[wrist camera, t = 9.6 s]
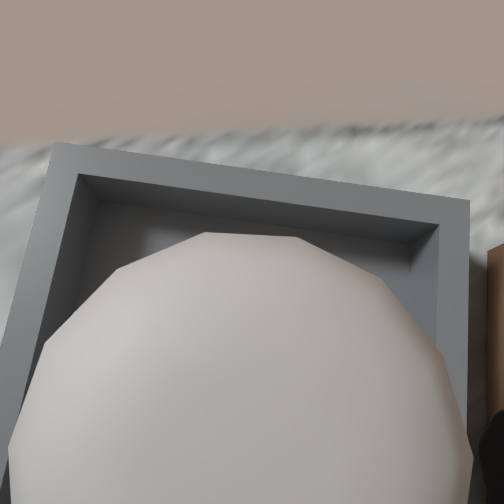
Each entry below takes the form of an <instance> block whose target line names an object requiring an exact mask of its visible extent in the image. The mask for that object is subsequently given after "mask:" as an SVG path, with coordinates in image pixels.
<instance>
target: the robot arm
mask: <svg viewBox="0 0 504 504" xmlns="http://www.w3.org/2000/svg"><path fill="white" fill-rule="evenodd" d="M479 455H480V460H481V465H482V470H483V474H484V479H485V484H486V489H487V494H488V499H489V503H490V504H504V410H499V411H497V412H496V413H495V414H494V416H493V418H492V419H491V421H490V423H489V425H488V426H487V428H486V430H485V432H484V434H483V435H482V437H481V439H480V443H479Z"/></svg>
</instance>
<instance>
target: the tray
mask: <svg viewBox="0 0 504 504" xmlns="http://www.w3.org/2000/svg"><path fill="white" fill-rule="evenodd" d="M469 231H470V200H464V199H457V198H450V197H443V196H436V195H429V194H422V193H415V192H407V191H400V190H393V189H386V188H379V187H372V186H365V185H358V184H351V183H344V182H337V181H330V180H323V179H316V178H309V177H302V176H295V175H288V174H281V173H274V172H267V171H260V170H253V169H245V168H238V167H231V166H224V165H217V164H210V163H203V162H196V161H189V160H182V159H175V158H168V157H161V156H154V155H147V154H140V153H133V152H126V151H119V150H112V149H105V148H98V147H90V146H83V145H76V144H69V143H62V142H55V143H54V147H53V151H52V155H51V159H50V162H49V166H48V170H47V174H46V177H45V181H44V185H43V189H42V193H41V196H40V200H39V204H38V208H37V211H36V215H35V219H34V223H33V226H32V230H31V234H30V238H29V242H28V245H27V249H26V253H25V257H24V260H23V264H22V268H21V272H20V275H19V279H18V283H17V287H16V291H15V294H14V298H13V302H12V306H11V309H10V313H9V317H8V321H7V325H6V328H5V332H4V336H3V340H2V343H1V347H0V504H11V491H10V474H9V456H8V446H9V443H10V440H11V437H12V434H13V431H14V429H15V426H16V423H17V420H18V417H19V415H20V412H21V409H22V406H23V403H24V400H25V398H26V395H27V392H28V389H29V386H30V383H31V381H32V378H33V375H34V372H35V369H36V366H37V364H38V361H39V358H40V355H41V352H42V350H43V347H44V344H45V342H46V341H47V340H48V339H49V338H50V337H51V336H52V335H53V334H54V333H55V332H56V331H57V330H58V329H59V328H60V327H61V326H62V325H63V324H64V323H65V322H66V321H67V320H68V319H69V318H70V317H71V316H72V315H73V313H74V312H75V311H76V310H77V309H78V308H79V307H80V306H81V305H82V304H83V303H84V302H85V301H86V300H87V299H88V298H89V297H90V296H91V295H92V294H93V293H94V292H95V291H96V290H97V289H98V288H99V287H100V286H101V285H102V284H103V283H104V282H105V281H106V280H107V279H108V278H109V277H110V276H111V275H112V274H113V273H114V272H115V270H116V269H119V268H121V267H123V266H126V265H128V264H131V263H133V262H135V261H138V260H140V259H142V258H145V257H147V256H150V255H152V254H154V253H157V252H159V251H161V250H164V249H166V248H168V247H171V246H173V245H176V244H178V243H180V242H183V241H185V240H187V239H190V238H192V237H194V236H197V235H199V234H202V233H204V232H210V233H230V234H249V235H268V236H288V237H298V238H300V239H302V240H304V241H306V242H308V243H310V244H312V245H314V246H316V247H318V248H320V249H322V250H324V251H326V252H329V253H331V254H333V255H335V256H337V257H339V258H341V259H343V260H345V261H347V262H349V263H351V264H353V265H355V266H357V267H359V268H361V269H363V270H365V271H367V272H369V273H371V274H373V275H375V276H377V277H379V278H381V279H382V280H383V281H384V283H385V284H386V285H387V286H388V288H389V289H390V290H391V291H392V293H393V294H394V295H395V296H396V298H397V299H398V300H399V301H400V303H401V304H402V305H403V306H404V308H405V309H406V310H407V311H408V313H409V314H410V315H411V316H412V318H413V319H414V320H415V321H416V323H417V324H418V325H419V326H420V328H421V329H422V330H423V331H424V333H425V334H426V335H427V336H428V338H429V339H430V340H431V341H432V343H433V344H434V345H435V346H436V348H437V349H438V350H439V351H440V353H441V354H442V355H443V357H444V361H445V364H446V367H447V371H448V374H449V377H450V381H451V384H452V387H453V391H454V394H455V397H456V401H457V404H458V407H459V411H460V414H461V417H462V421H463V424H464V427H465V431H466V434H467V370H468V301H469Z"/></svg>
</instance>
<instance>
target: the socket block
mask: <svg viewBox="0 0 504 504" xmlns="http://www.w3.org/2000/svg"><path fill="white" fill-rule="evenodd" d="M499 410H504V244H502V245H500V246H497V247H495V248H493V249H491V250H489V251H488V272H487V426H488V425H489V423H490V421H491V419H492V418H493V416H494V414H495V413H496V412H497V411H499ZM487 504H490V503H489V499H488V494H487Z"/></svg>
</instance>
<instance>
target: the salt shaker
mask: <svg viewBox="0 0 504 504" xmlns="http://www.w3.org/2000/svg"><path fill="white" fill-rule="evenodd" d="M8 456H9V474H10V491H11V504H467V503H468V495H469V488H470V481H471V473H472V466H473V459H474V457H473V454H472V450H471V447H470V444H469V441H468V437H467V434H466V431H465V427H464V424H463V421H462V417H461V414H460V411H459V407H458V404H457V401H456V397H455V394H454V391H453V387H452V384H451V381H450V377H449V374H448V371H447V367H446V364H445V361H444V357H443V355H442V354H441V353H440V351H439V350H438V349H437V348H436V346H435V345H434V344H433V343H432V341H431V340H430V339H429V338H428V336H427V335H426V334H425V333H424V331H423V330H422V329H421V328H420V326H419V325H418V324H417V323H416V321H415V320H414V319H413V318H412V316H411V315H410V314H409V313H408V311H407V310H406V309H405V308H404V306H403V305H402V304H401V303H400V301H399V300H398V299H397V298H396V296H395V295H394V294H393V293H392V291H391V290H390V289H389V288H388V286H387V285H386V284H385V283H384V281H383V280H382V279H381V278H379V277H377V276H375V275H373V274H371V273H369V272H367V271H365V270H363V269H361V268H359V267H357V266H355V265H353V264H351V263H349V262H347V261H345V260H343V259H341V258H339V257H337V256H335V255H333V254H331V253H329V252H326V251H324V250H322V249H320V248H318V247H316V246H314V245H312V244H310V243H308V242H306V241H304V240H302V239H300V238H298V237H288V236H268V235H249V234H230V233H210V232H204V233H202V234H199V235H197V236H194V237H192V238H190V239H187V240H185V241H183V242H180V243H178V244H176V245H173V246H171V247H168V248H166V249H164V250H161V251H159V252H157V253H154V254H152V255H150V256H147V257H145V258H142V259H140V260H138V261H135V262H133V263H131V264H128V265H126V266H123V267H121V268H119V269H116V270H115V272H114V273H113V274H112V275H111V276H110V277H109V278H108V279H107V280H106V281H105V282H104V283H103V284H102V285H101V286H100V287H99V288H98V289H97V290H96V291H95V292H94V293H93V294H92V295H91V296H90V297H89V298H88V299H87V300H86V301H85V302H84V303H83V304H82V305H81V306H80V307H79V308H78V309H77V310H76V311H75V312H74V313H73V315H72V316H71V317H70V318H69V319H68V320H67V321H66V322H65V323H64V324H63V325H62V326H61V327H60V328H59V329H58V330H57V331H56V332H55V333H54V334H53V335H52V336H51V337H50V338H49V339H48V340H47V341H46V342H45V344H44V347H43V350H42V352H41V355H40V358H39V361H38V364H37V366H36V369H35V372H34V375H33V378H32V381H31V383H30V386H29V389H28V392H27V395H26V398H25V400H24V403H23V406H22V409H21V412H20V415H19V417H18V420H17V423H16V426H15V429H14V431H13V434H12V437H11V440H10V443H9V446H8Z"/></svg>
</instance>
